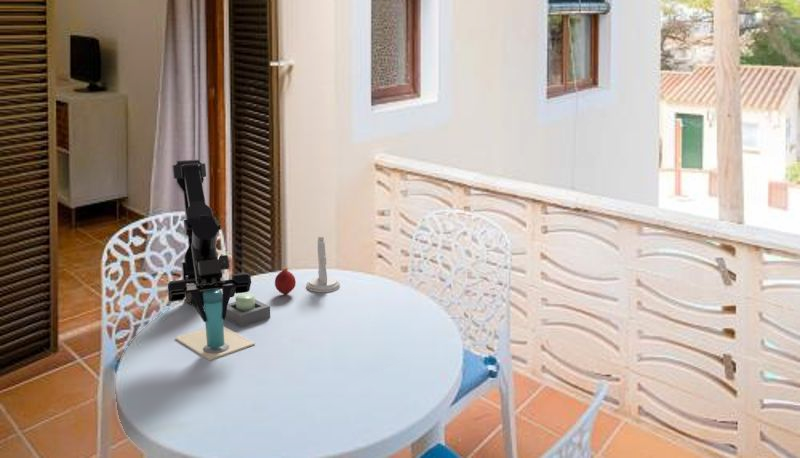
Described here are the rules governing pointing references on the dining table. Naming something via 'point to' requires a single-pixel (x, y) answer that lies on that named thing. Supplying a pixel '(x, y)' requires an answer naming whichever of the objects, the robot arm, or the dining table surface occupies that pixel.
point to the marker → (213, 317)
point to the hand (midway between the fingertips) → (214, 320)
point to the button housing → (247, 313)
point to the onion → (285, 282)
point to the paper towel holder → (322, 273)
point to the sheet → (231, 345)
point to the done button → (245, 302)
